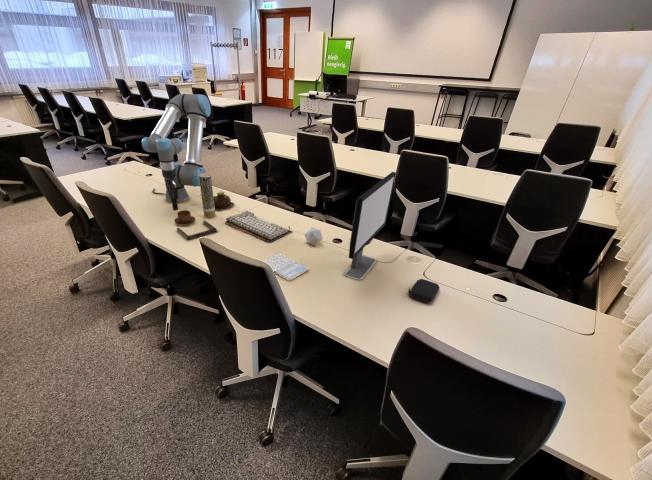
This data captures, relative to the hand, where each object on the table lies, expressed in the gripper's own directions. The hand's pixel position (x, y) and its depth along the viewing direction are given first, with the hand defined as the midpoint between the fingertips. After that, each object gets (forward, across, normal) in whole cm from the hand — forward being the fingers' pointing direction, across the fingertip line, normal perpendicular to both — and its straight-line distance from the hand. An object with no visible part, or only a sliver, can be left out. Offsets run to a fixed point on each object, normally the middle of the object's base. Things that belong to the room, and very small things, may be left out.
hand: (175, 209), depth 197 cm
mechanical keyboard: (+5, +41, +30) cm, 51 cm away
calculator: (+5, +85, +16) cm, 87 cm away
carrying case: (+5, +137, +51) cm, 146 cm away
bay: (+5, +25, 0) cm, 26 cm away
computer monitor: (+5, +107, +46) cm, 116 cm away
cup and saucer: (+5, +11, 0) cm, 12 cm away
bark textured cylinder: (+5, +11, +16) cm, 20 cm away
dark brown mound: (+4, +1, +30) cm, 31 cm away
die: (+5, +75, +44) cm, 87 cm away
